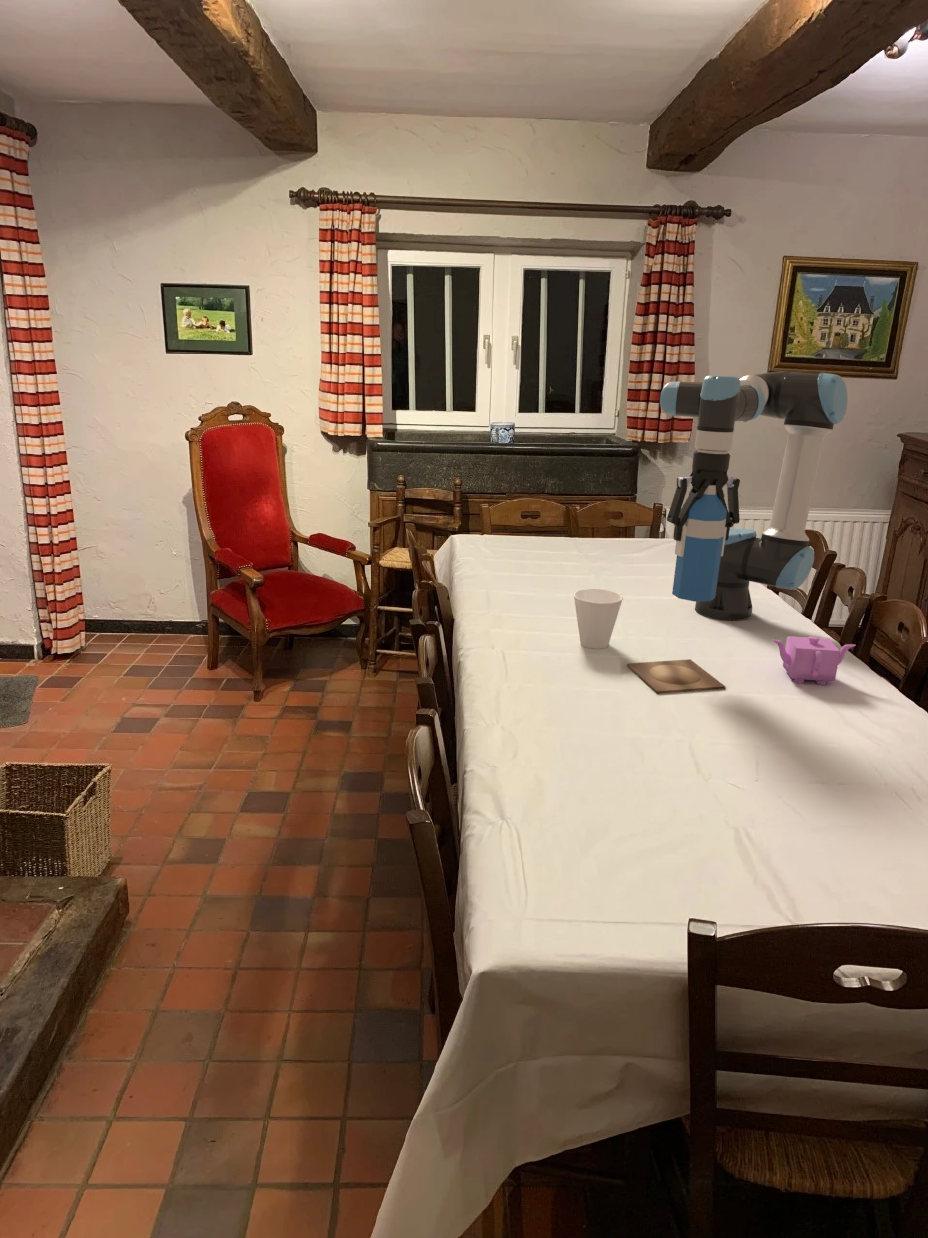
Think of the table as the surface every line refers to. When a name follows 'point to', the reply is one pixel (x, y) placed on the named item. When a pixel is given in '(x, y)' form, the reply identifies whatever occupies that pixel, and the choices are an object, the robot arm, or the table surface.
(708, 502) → the water bottle
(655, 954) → the table surface
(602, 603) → the cup
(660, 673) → the plate
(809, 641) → the teapot
